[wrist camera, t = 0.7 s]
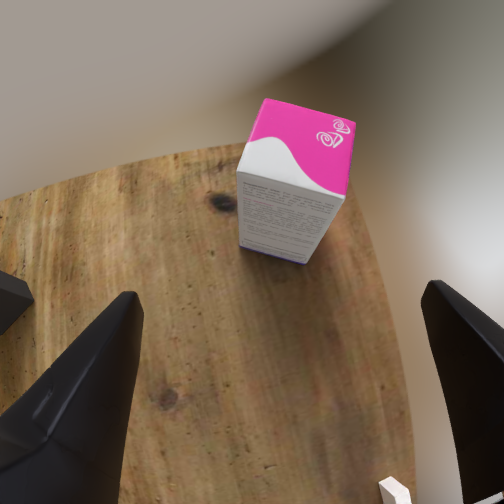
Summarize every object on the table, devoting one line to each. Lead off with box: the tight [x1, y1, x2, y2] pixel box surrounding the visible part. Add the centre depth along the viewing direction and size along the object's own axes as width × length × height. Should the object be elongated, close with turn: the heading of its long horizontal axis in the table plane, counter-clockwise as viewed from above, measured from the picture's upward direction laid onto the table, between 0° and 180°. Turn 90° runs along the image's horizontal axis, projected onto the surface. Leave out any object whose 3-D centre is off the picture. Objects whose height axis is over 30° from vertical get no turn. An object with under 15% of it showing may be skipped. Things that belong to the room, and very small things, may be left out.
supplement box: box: [236, 98, 356, 265], centre depth 21 cm, size 6×6×12 cm
